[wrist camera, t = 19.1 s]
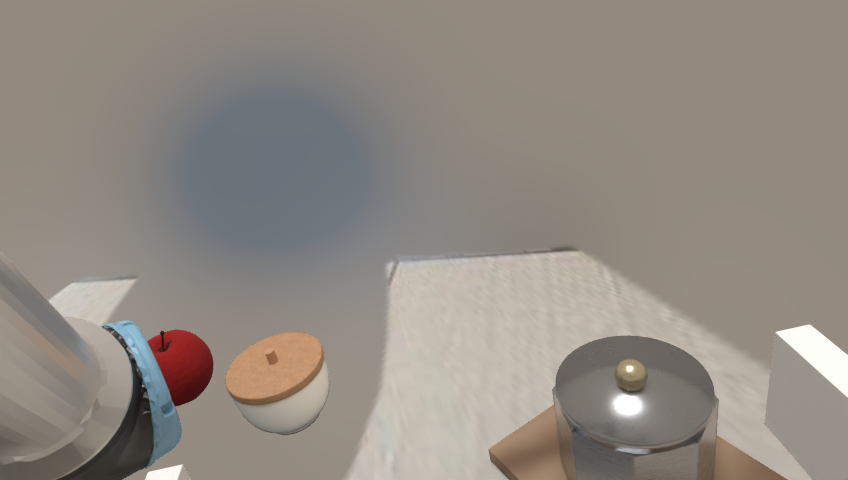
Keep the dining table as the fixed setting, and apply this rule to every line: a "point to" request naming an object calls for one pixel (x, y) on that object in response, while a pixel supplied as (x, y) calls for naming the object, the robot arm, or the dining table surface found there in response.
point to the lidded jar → (280, 382)
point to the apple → (182, 364)
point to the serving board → (543, 472)
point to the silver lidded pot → (635, 412)
